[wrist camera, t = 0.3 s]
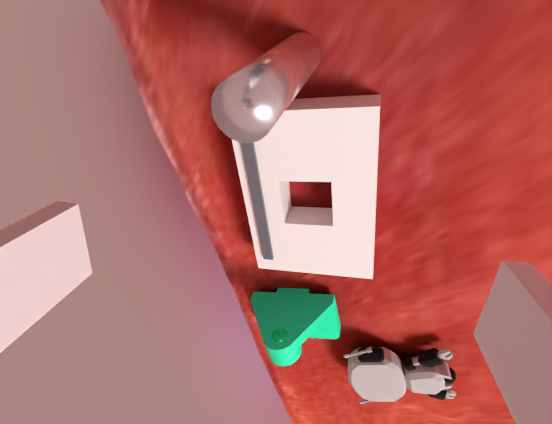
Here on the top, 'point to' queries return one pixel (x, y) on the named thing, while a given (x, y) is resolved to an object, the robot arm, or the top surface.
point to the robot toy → (399, 374)
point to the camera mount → (294, 321)
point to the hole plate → (315, 168)
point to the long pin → (264, 88)
